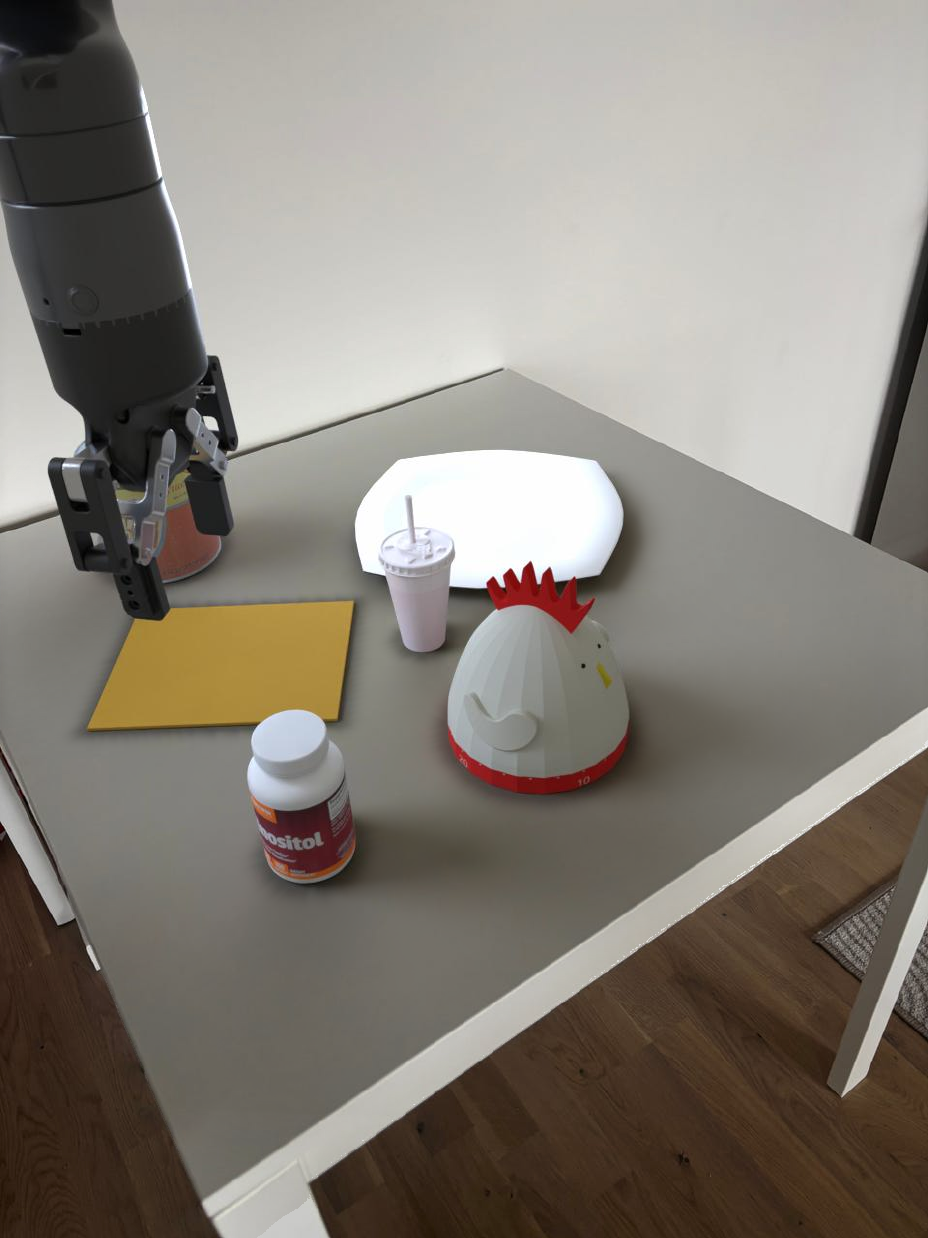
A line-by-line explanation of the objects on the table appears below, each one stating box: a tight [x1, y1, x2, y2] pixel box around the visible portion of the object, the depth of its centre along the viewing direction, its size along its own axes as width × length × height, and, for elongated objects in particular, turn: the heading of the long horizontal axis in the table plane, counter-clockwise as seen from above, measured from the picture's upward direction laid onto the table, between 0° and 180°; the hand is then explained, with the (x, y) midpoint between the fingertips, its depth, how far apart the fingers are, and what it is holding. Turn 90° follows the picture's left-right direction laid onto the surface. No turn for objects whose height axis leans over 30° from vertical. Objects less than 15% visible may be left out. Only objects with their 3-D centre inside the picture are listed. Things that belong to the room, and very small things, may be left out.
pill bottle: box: [246, 710, 357, 884], centre depth 63 cm, size 6×6×11 cm
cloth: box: [86, 600, 355, 732], centre depth 83 cm, size 20×16×1 cm
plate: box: [354, 449, 625, 591], centre depth 99 cm, size 27×27×2 cm
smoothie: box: [378, 495, 456, 653], centre depth 81 cm, size 6×6×14 cm
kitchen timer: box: [447, 561, 630, 795], centre depth 71 cm, size 14×14×15 cm
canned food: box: [72, 440, 222, 585], centre depth 95 cm, size 11×11×12 cm
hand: (185, 571), depth 55 cm, fingers open, 8 cm apart
